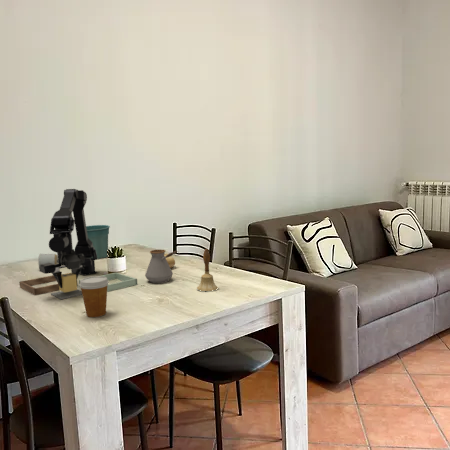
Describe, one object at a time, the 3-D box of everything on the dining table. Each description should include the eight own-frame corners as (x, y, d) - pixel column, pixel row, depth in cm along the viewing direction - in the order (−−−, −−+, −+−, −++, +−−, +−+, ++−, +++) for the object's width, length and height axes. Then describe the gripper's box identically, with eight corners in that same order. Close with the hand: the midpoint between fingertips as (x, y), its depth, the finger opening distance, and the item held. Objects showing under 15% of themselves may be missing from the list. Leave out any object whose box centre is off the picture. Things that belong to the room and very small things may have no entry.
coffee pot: (140, 280, 207) (138, 246, 205) (164, 276, 213) (162, 242, 211) (166, 291, 190) (164, 253, 188) (191, 285, 197) (189, 248, 194)
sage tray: (117, 278, 213) (116, 272, 213) (137, 284, 201) (137, 278, 200) (79, 286, 202) (78, 280, 201) (97, 293, 189) (97, 287, 189)
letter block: (71, 287, 193) (70, 272, 192) (77, 289, 190) (75, 274, 189) (59, 290, 190) (58, 274, 189) (64, 292, 186) (63, 276, 185)
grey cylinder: (56, 269, 233) (55, 254, 232) (38, 271, 231) (37, 255, 230) (59, 265, 243) (58, 250, 242) (42, 266, 242) (40, 251, 241)
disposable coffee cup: (84, 310, 169) (82, 276, 167) (112, 309, 169) (110, 275, 168) (78, 319, 159) (76, 283, 158) (108, 318, 160) (106, 282, 158)
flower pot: (94, 261, 249) (92, 230, 246) (73, 258, 258) (71, 228, 255) (118, 255, 262) (116, 225, 260) (97, 253, 271) (95, 224, 269)
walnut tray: (61, 279, 214) (60, 273, 214) (77, 286, 202) (77, 280, 201) (19, 287, 202) (19, 281, 202) (34, 295, 190) (34, 289, 190)
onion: (176, 266, 232) (176, 251, 231) (173, 270, 224) (172, 255, 223) (160, 266, 233) (159, 252, 232) (156, 270, 225) (155, 255, 224)
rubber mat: (75, 289, 197) (75, 288, 197) (86, 293, 190) (86, 292, 189) (50, 294, 190) (50, 293, 190) (61, 299, 183) (61, 298, 183)
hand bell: (221, 286, 193) (219, 247, 191) (213, 292, 185) (212, 251, 183) (201, 285, 196) (199, 246, 194) (193, 291, 188) (191, 250, 186)
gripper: (49, 253, 175) (52, 295, 177) (96, 245, 187) (99, 285, 190) (37, 249, 184) (40, 290, 186) (83, 242, 196) (86, 280, 198)
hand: (67, 286), depth 190 cm, fingers closed on letter block, 5 cm apart
